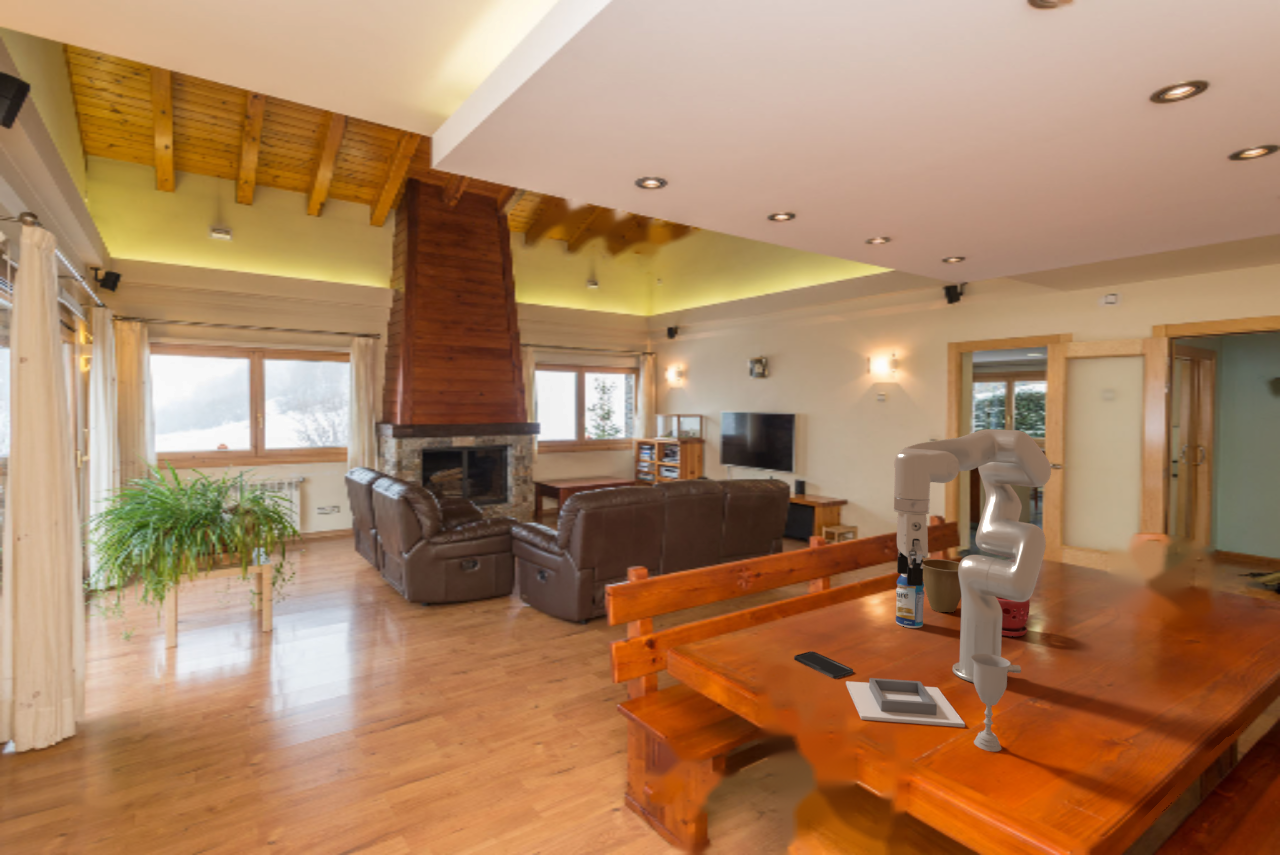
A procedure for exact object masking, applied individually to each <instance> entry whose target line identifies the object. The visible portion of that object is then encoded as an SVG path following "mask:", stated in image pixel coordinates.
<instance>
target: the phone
mask: <svg viewBox="0 0 1280 855" xmlns="http://www.w3.org/2000/svg"><path fill="white" fill-rule="evenodd" d="M793 658H794V661H795V662H796V661H797V662H798V663H800V664H803V665H805V667H808V668H810V669H812V670H815V671H817V672H818V673H821V674H824V675H825V676H827V677H829V678H831V679H839V678H843V677H846V676H850V675H852V674H854V669H853V668H852V667H849V666H847V665H844V664H843V663H841V662H839V661H836V660H835V659H831V658H830V657H827V656H825V655H823V654H821V653H818V652H816V651H813V650H812V651H807V652H802V653H798V654H795V655H794V657H793Z"/></svg>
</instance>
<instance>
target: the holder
mask: <svg viewBox="0 0 1280 855" xmlns="http://www.w3.org/2000/svg"><path fill="white" fill-rule="evenodd" d="M845 686H846V688H847V691H848V692H849V695H850V697H851V699H852V702H853V704H854V706H855V708H856V711H857V713H858V715H859V717H860V720H862V721H863V720H866V721H877V722H888V723H889V722H890V723H905V724H918V725H931V726H945V727H956V728H957V727H958V728H965V727H966V723H965V721H964V720H963V719H962V718H961V717H960V715H959V714H958V713H957V711H956V710H955V708H954V707H953V706H952V705H951V703H950V701H948V700H947V698H946V696H944V694H943V693H942V692H941V690H940V689H939V688H938V687H935V686H925V685H923V683H922V682H921V680H919V681H918V680H904V679H892V678H891V679H890V678H875V677H869V682H862V681H861V682H860V681H848V680H847V681H845Z"/></svg>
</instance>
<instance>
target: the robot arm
mask: <svg viewBox="0 0 1280 855" xmlns="http://www.w3.org/2000/svg"><path fill="white" fill-rule="evenodd" d="M893 464H894V494H893V495H894V497H893V499H894V500H893V512H896V513H897V523H896V548H897V567H896V569H897V571H896V572H897V574H899V575H901V574H907V584H908V585H913V586H922V585H923V582H924V581H923V559H927V557H928V556H929V546H928V545H929V544H928V543H929V541H928V540H929V537H928V536H929V535H928V519H927V517H928V516H927V515H928V514H930V504H931V502H930V500H931V483H937V484H945V483H950V482H952V481H953V480H955V479H956V478H957V477H958V475H959V473H960V472H967V471H971V470H975V469H976V468H977V469H978V474H979V475H980V478H981V482H982V485H983V488H984V491H985V504H984V507H983V510H982V513H981V518H980V520H979V524H978V527H977V530H976V534H975V545H976V546H977V548H978V549H979V550H980V551H983V552H985V553H988V554H992V555H997V556H1001V557H1006V558H1010V559H1011V558H1012V559H1014V561H1010V560H1006V559H1001V558H997V557H992V556H986V555H982V554H981V555H980V554H969V555H967V556H964V557H963V558H962V559H961V560H960V562H959V563H960V564H959V567H958V576H959V582H960V588H961V599H960V600H961V602H960V604H961V605H960V635H959V638H960V639H959V660H958V661H957V662H955V663H954V664H953V665H952V672H953V674H955V676H957V677H958V678H960V679H962V680H964V681H967V682H970V683H973V684H974V682H973V674H974V662H973V660H972V658H971V656H972V655H975V654H990V655H995V656H999V657H1002V639H1003V638H1002V636H1003V635H1002V609H1001V606H1000V604H999V602H998V600H997V599H998V598H996V597H1000V598H1004V599H1008V600H1012V601H1017V602H1024V601H1027V600H1028V599H1029V600H1030V598H1031V597H1032V595H1033V593H1034V591H1035V588H1036V585H1037V583H1038V577H1039V573H1040V570H1041V567H1042V563H1043V560H1044V555H1045V551H1046V546H1047V545H1046V543H1047V541H1046V536H1045V533H1044V530H1043V529H1042V528H1040V527H1039V526H1038V525H1036V524H1033V523H1029V522H1023V521H1019V520H1020V517H1021V513H1022V509H1023V506H1022V502H1021V500H1020V497H1019V496H1018V494H1017V492H1016V491H1015V490H1014V488H1013V487H1012V486H1020V487H1021V486H1022V487H1029V488H1041V487H1043V486H1045V485H1046V484H1047V483H1048V482H1049V480H1050V479H1051V475H1052V467H1051V464H1050V462H1049V459H1048V456H1046V454H1045V453H1044V452H1043V451H1042V449H1041V448H1040V446H1039V445H1038V444H1037V442H1036V441H1035V440H1034V439H1033V438H1032V437H1031V435H1029V434H1028V433H1026V432H1024V431H1021V430H1017V429H1016V430H1015V429H1014V430H1013V429H995V428H994V429H993V428H989V429H988V428H987V429H980V430H977V431H975V432H970V433H968V434H966V435H963V436H960V437H956V438H955V437H953V438H947V439H940V440H933V441H927V442H920V443H915V444H911V445H909V446H907V447H904V448H902V449H901V450H900V451H898V453H897V454H896V456H895V458H894V462H893ZM995 596H996V597H995ZM1021 672H1022V667H1021V665H1020V664H1012V663H1011V662H1010V666H1009V667H1008V668H1007V674H1009V673H1012V674H1013V673H1014V674H1021Z"/></svg>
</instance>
